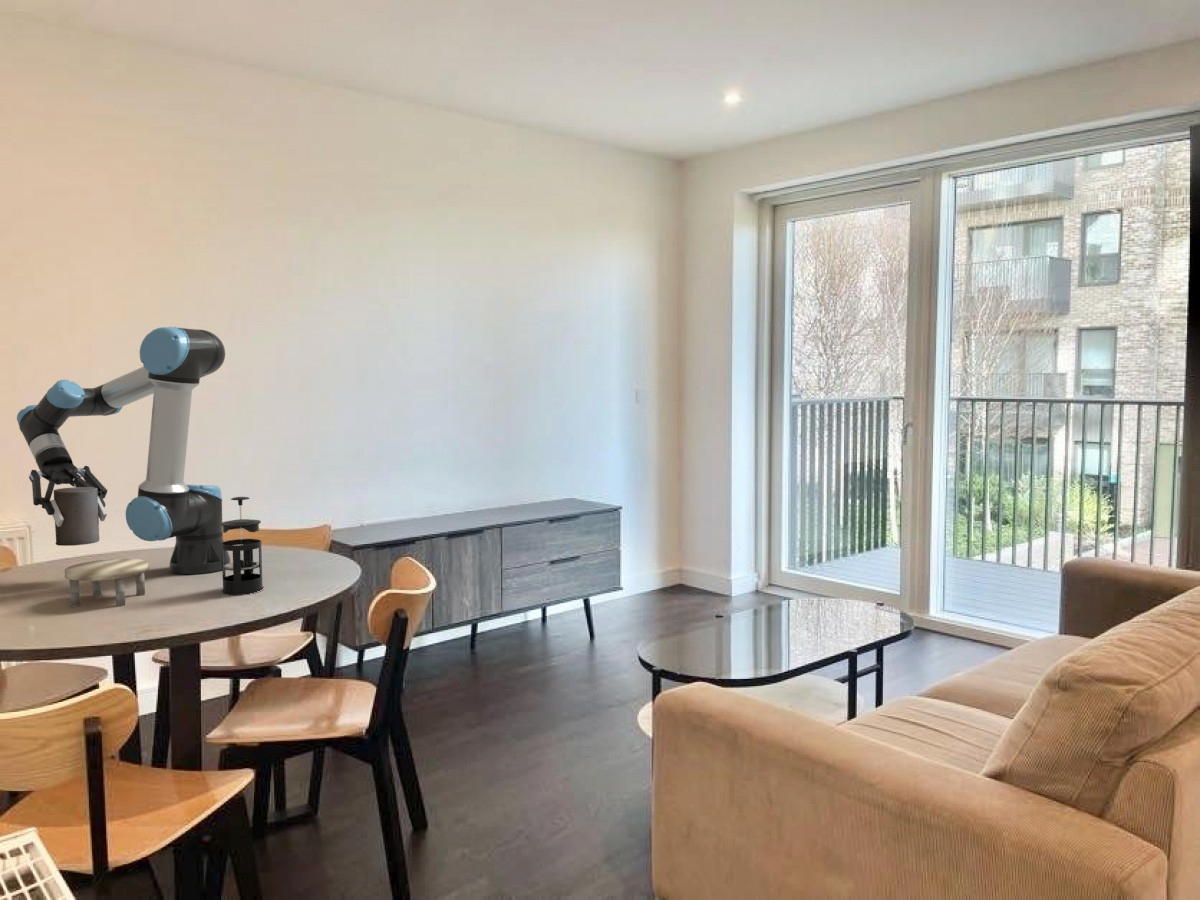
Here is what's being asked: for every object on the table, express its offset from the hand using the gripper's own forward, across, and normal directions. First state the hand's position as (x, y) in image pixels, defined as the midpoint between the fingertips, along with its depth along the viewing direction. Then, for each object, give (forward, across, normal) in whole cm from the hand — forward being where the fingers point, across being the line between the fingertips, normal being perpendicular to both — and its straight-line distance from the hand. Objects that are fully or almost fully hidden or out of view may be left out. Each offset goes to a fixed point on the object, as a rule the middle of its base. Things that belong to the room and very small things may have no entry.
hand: (82, 520), depth 219 cm
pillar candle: (+2, 0, -7) cm, 7 cm away
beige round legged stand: (+27, +5, +4) cm, 28 cm away
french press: (+39, -19, +16) cm, 47 cm away
